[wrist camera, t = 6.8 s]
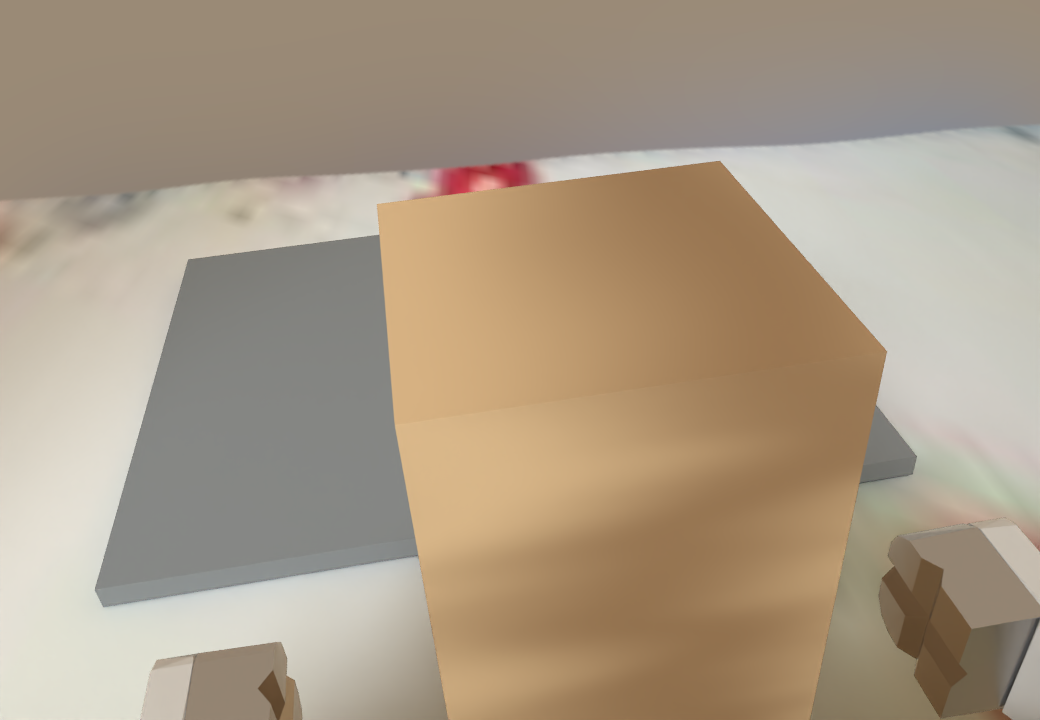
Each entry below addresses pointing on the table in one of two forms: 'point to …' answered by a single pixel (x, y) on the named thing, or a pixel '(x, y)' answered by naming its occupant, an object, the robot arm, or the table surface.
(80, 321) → the table surface
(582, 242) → the oak post
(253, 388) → the slate mat
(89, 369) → the table surface
